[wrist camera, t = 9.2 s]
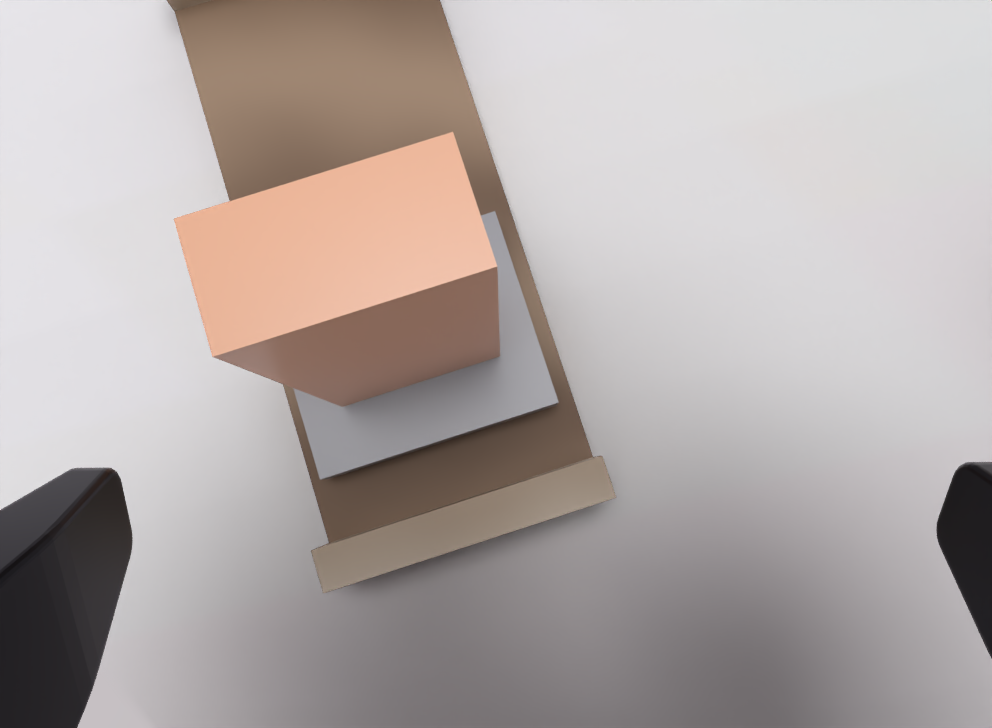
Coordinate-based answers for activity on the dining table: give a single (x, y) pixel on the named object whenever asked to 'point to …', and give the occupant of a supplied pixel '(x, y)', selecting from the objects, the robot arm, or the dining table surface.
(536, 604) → the dining table surface
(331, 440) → the fader
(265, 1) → the fader track
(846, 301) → the dining table surface
